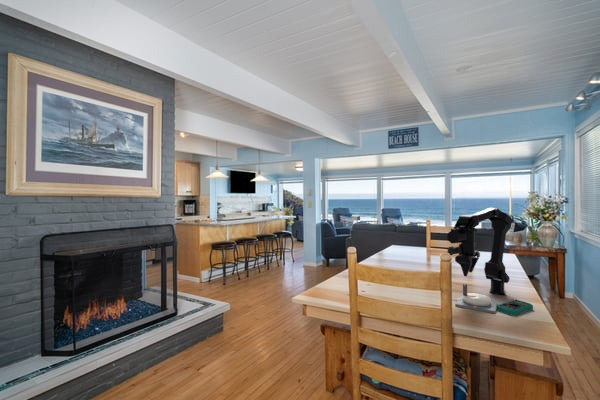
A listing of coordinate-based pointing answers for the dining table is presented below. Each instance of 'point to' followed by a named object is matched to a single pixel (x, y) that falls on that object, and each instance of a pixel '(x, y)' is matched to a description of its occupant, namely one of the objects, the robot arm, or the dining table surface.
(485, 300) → the dial
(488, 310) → the base plate
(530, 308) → the digital multimeter
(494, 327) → the dining table surface
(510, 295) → the dining table surface
